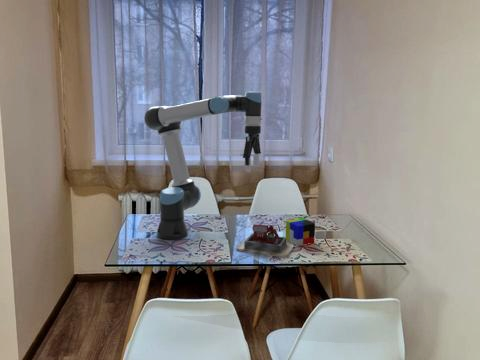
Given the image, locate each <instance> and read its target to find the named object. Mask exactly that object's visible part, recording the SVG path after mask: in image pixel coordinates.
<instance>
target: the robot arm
mask: <svg viewBox="0 0 480 360" xmlns="http://www.w3.org/2000/svg"><path fill="white" fill-rule="evenodd" d="M262 103H263V102H262V93H261V92H260V91H246V92H245V95H233V94H232V95H230V94H227V95H226V94H225V95H217V96H214V97H211V98H207V99H201V100H196V101H192V102H186V103H183V104H178V105H174V106H173V105H161V106H160V105H159V106H152V107H150V108H149V109H147V110H146V112H145V114H144V123H145V125H146V126H147V127H148V128H149V129H150V130H153V131H157V133H158V135H159V136H160V137H162V141H163V145H164V149H165V152H166V153H165V154H166V157H167V160H168V163H169V168H170V171H171V172H170V173H171V176H172V181H173V183H172V185H171V186H170V187H166V188H163V189H162V190H161V191H160V193H159V213H160V215H159V217H160V221H159V224H158V227H157V231H156V235H157V236H156V237H158V238H159V239H162V240H169V241H171V240H172V241H173V240H180V239H184V238H186V237H187V236H188V234H189V233H188V228H187V224H186V222H185V211H187V210H188V209H190V208H193V207H195V205H198V203H199V202H200V201H201V200H200V199H201V196H202V195H201V190H200V188H199V187H198V186H197V185H196V184H195V182H194V180H193V179H192V178H191V177H190V174H189V173H190V172H189V170H188V166H187V161H186V157H185V153H184V150H183V145H182V141H181V137H180V132H181V129H182V128H181V123H182V122H184V121H188V120H189V121H190V120H193V119H199V118H204V117H209V116H213V115H219V114H225V113H233V112H234V113H236V112H239V113H242V112H243V113H244V125H245V126H244V133H245V135H248V136H245V144H244V149H243V155H242V159H244V172H245V173H251V170H252V168H251V167H253V168H259V166H260V155H261V154H262V151H261V145H260V134H261V133H262V129H261V128H262V126H261V124H262V123H261V121H263V118H262ZM252 151H253V154H252ZM251 155H253V156H252V157H253V160H252V158H251ZM252 161H253V163H252ZM251 163H252V164H251ZM251 165H252V166H251Z"/></svg>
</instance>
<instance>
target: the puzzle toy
mask: <svg viewBox="0 0 480 360" xmlns="http://www.w3.org/2000/svg"><path fill="white" fill-rule="evenodd" d="M315 230H316V223H315V222H312V221H310V220H309V219H306V218H304V217H300V218H294V219H288V220H287V219H286V221H285V237H286V238H287V242H288V243H290V242H291V243H290V244H292V243H293V244H292V245H294V244H295V245H294V246H296V247H300V246H299V245H301V246H304V245H303V244H307V245H309V244H308V243H312V244H315V237H316V236H315Z"/></svg>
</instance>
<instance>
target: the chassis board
mask: <svg viewBox="0 0 480 360" xmlns="http://www.w3.org/2000/svg"><path fill="white" fill-rule="evenodd" d="M253 233H254V232H252V233H250V235H249V236H248V237H247V238H244V240H242V242H241V243H240V244H239V245H238V246H237V247H236V250H235V251H239V252H246V253H252V254H253V253H254V254H260V255H266V256H267V255H268V256H272V257H273V256H275V257H282V258H288V257H289V256H290V254H291V253H292V251H293V249H294V248H295V245H294V244H292V243H287V242H288V241H287V238H286V236H285V237H284V236H279V244H278V245H274V244H267V243H259V242H253ZM274 237H275V235H274ZM267 238H268V234H267ZM267 238H266V240H267ZM293 247H294V248H293ZM290 252H291V253H290Z"/></svg>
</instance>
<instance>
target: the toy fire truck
mask: <svg viewBox="0 0 480 360" xmlns="http://www.w3.org/2000/svg"><path fill="white" fill-rule="evenodd" d="M252 231H253V232H252V233H253V242H259V243H267V244H274V245H278V244H279V237H280V235H279V234H278V232H277V230H276V228H274V225H272V224H270V225H269V226H268V225H267V224H253V225H252ZM267 235H268V238H267ZM274 236H275V237H274ZM266 238H267V240H266Z"/></svg>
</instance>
